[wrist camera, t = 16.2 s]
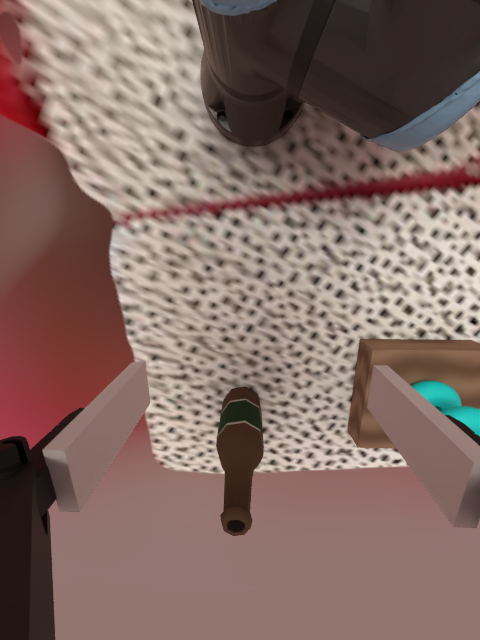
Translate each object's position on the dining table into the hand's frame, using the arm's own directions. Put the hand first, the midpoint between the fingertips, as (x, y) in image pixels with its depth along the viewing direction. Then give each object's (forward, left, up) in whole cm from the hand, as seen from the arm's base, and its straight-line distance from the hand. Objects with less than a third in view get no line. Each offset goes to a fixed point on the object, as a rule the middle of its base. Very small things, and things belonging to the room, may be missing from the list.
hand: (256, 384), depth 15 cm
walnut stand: (+19, +30, -32) cm, 48 cm away
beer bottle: (+23, -2, -32) cm, 39 cm away
